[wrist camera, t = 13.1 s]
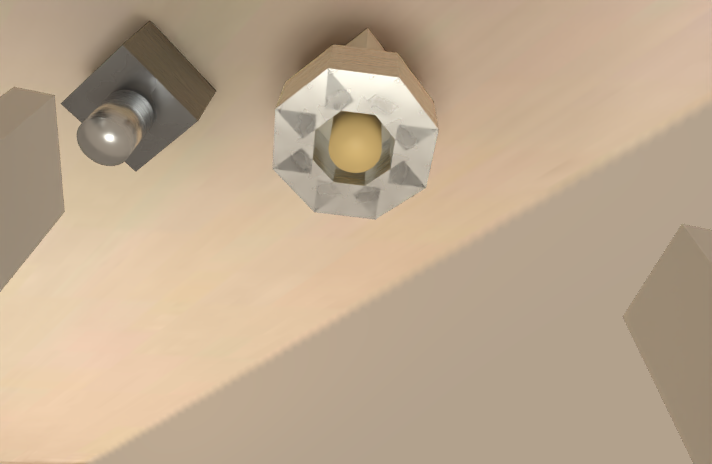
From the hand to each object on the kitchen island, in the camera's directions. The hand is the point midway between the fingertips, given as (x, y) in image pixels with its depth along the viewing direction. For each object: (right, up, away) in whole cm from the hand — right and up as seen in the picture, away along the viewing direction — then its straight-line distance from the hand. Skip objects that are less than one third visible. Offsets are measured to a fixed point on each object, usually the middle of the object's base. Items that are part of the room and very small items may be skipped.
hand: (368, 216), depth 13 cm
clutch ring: (0, +7, +24) cm, 25 cm away
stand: (-14, +10, +29) cm, 33 cm away
